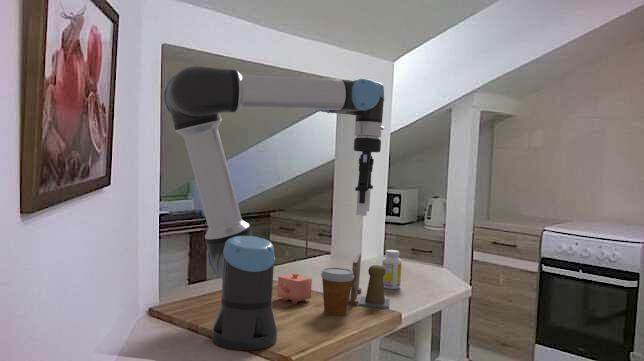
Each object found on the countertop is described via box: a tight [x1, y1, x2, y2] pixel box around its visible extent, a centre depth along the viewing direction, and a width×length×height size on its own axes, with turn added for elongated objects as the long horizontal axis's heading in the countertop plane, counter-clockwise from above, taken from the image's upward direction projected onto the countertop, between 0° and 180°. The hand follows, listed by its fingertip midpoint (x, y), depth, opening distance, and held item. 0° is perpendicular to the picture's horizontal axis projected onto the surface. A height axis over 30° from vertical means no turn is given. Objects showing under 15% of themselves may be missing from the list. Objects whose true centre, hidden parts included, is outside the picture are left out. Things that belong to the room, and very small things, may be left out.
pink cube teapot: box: [276, 272, 313, 305], centre depth 159 cm, size 8×12×8 cm, turn 143°
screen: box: [348, 252, 362, 307], centre depth 166 cm, size 3×18×13 cm, turn 172°
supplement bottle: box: [381, 249, 403, 290], centre depth 184 cm, size 7×7×13 cm
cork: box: [365, 264, 386, 304], centre depth 162 cm, size 6×6×11 cm
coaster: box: [358, 295, 390, 309], centre depth 162 cm, size 9×9×1 cm
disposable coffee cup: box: [320, 267, 354, 317], centre depth 149 cm, size 10×10×12 cm
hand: (363, 213), depth 148 cm, fingers open, 13 cm apart
